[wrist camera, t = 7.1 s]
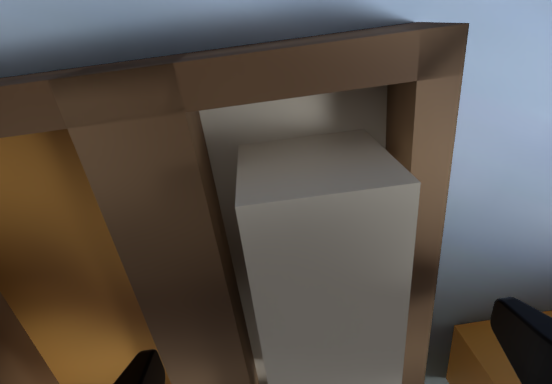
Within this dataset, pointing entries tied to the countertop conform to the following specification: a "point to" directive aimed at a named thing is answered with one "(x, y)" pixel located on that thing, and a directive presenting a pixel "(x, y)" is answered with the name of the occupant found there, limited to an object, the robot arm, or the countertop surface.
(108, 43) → the countertop surface
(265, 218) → the off-white square pillar
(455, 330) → the tall amber prism
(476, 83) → the countertop surface
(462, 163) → the countertop surface
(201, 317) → the slot board
